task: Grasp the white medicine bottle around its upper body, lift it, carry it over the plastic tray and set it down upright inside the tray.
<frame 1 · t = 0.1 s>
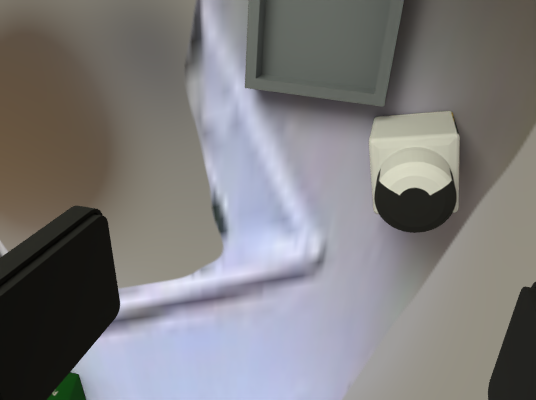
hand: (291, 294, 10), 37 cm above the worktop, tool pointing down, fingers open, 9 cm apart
milk carton: (66, 384, 79), on the worktop
tray: (326, 18, 42), on the worktop
medicine bottle: (413, 147, 45), on the worktop
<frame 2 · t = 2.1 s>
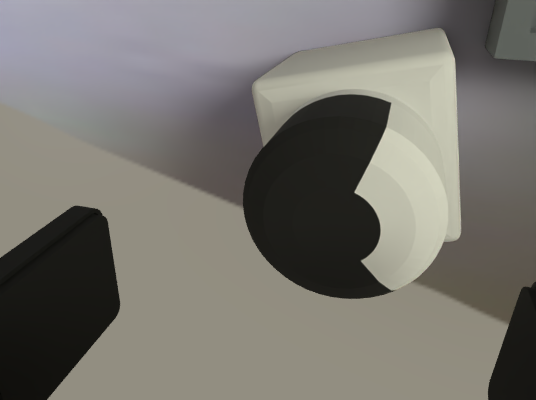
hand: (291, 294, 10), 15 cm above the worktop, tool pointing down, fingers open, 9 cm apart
medicine bottle: (372, 111, 23), on the worktop
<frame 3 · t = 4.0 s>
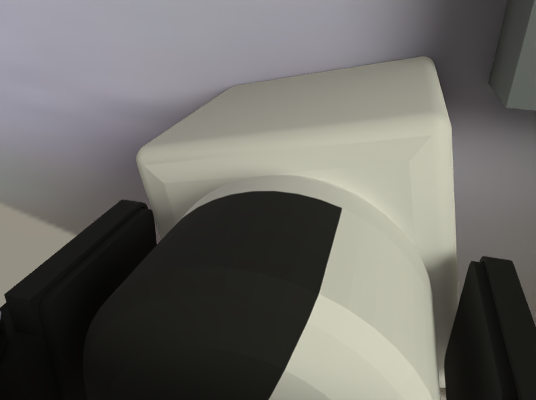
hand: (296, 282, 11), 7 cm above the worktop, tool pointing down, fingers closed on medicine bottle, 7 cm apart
medicine bottle: (338, 164, 17), on the worktop, touching gripper
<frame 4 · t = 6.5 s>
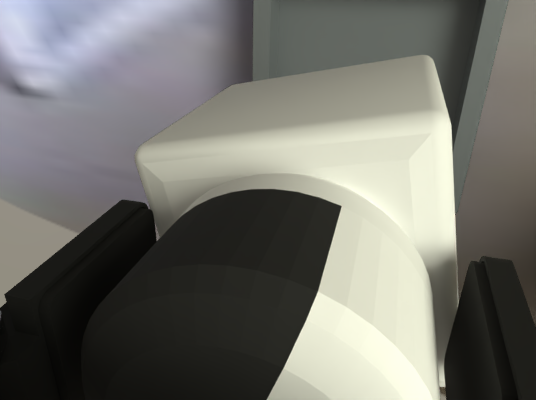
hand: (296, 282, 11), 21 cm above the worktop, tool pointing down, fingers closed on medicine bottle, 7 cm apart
tray: (365, 85, 29), on the worktop
medicine bottle: (338, 163, 17), point 13 cm above the worktop, touching gripper
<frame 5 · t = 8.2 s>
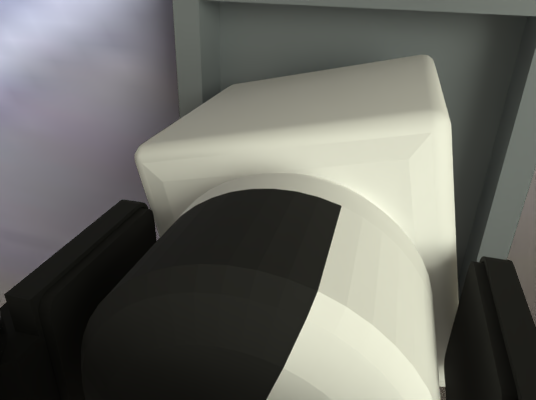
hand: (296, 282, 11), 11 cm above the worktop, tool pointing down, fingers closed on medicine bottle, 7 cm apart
tray: (349, 139, 20), on the worktop
medicine bottle: (337, 163, 17), point 3 cm above the worktop, touching gripper
when the fingers open (10 cm above the worktop, at t = 9.4 s): medicine bottle drops 1 cm, resting on tray.
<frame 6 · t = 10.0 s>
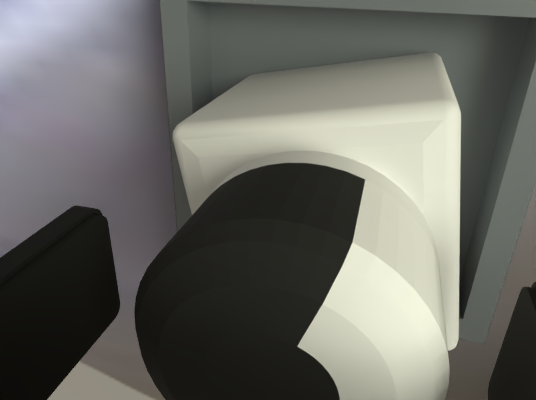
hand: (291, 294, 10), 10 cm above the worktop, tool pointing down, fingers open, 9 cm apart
tray: (345, 144, 19), on the worktop
medicine bottle: (347, 151, 19), point 1 cm above the worktop, touching tray
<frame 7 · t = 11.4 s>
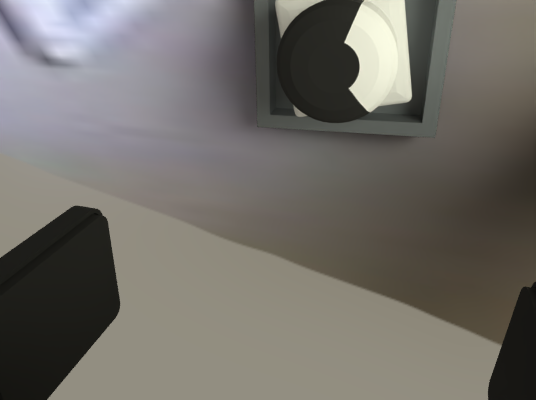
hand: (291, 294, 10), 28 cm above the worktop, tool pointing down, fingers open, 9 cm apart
tray: (351, 33, 34), on the worktop
medicine bottle: (353, 35, 33), point 1 cm above the worktop, touching tray
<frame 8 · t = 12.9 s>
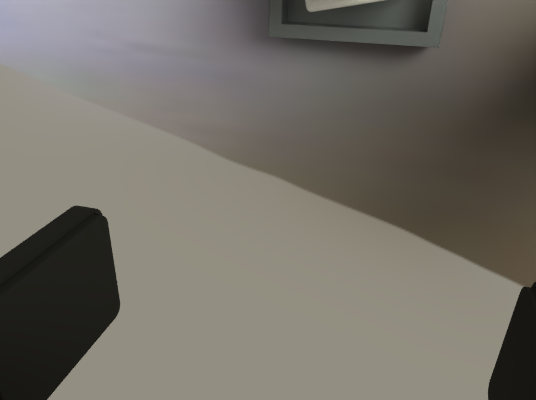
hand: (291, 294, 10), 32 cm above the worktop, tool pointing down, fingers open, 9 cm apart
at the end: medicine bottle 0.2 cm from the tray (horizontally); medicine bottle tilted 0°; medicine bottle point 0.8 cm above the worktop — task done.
